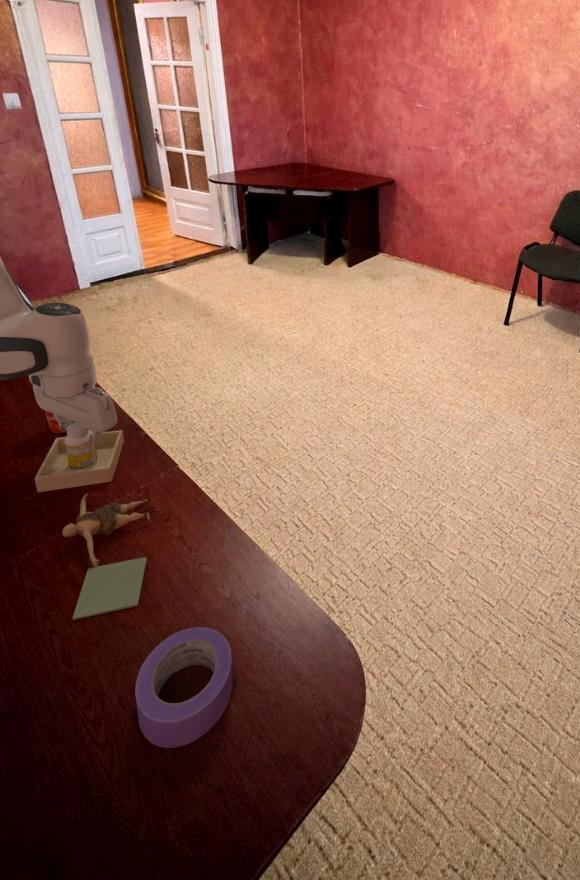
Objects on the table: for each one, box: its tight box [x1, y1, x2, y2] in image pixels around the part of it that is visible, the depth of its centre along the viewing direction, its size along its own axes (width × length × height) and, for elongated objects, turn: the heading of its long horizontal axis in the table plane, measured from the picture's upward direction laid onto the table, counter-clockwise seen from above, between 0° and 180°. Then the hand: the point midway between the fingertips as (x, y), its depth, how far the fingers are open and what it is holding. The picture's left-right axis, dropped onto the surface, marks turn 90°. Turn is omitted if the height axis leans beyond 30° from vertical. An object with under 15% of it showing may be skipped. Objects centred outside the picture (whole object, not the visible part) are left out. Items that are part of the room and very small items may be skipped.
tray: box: [34, 429, 125, 493], centre depth 105 cm, size 13×13×4 cm
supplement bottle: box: [65, 422, 98, 471], centre depth 103 cm, size 5×5×10 cm
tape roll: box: [134, 626, 234, 749], centre depth 65 cm, size 12×12×5 cm
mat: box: [72, 556, 148, 621], centre depth 79 cm, size 9×9×1 cm
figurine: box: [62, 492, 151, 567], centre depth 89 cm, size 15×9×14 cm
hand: (81, 435), depth 103 cm, fingers open, 8 cm apart
